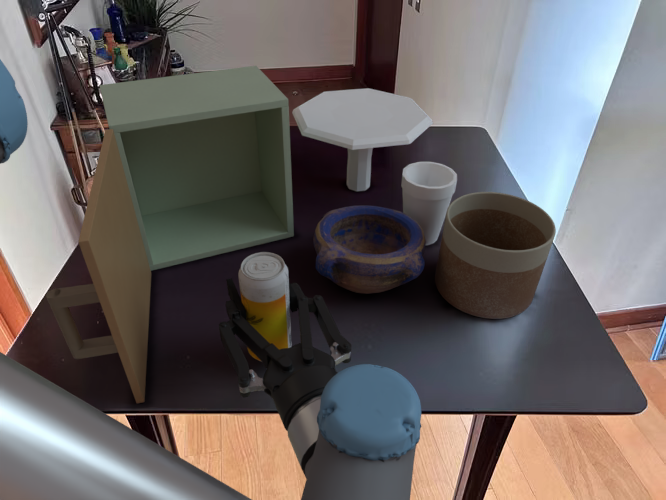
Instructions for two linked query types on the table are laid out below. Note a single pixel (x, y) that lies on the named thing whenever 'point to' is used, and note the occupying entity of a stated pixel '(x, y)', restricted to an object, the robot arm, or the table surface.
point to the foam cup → (428, 195)
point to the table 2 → (361, 125)
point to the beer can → (266, 297)
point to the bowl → (369, 248)
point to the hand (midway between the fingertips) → (254, 280)
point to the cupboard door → (111, 273)
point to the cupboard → (204, 161)
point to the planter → (493, 253)
